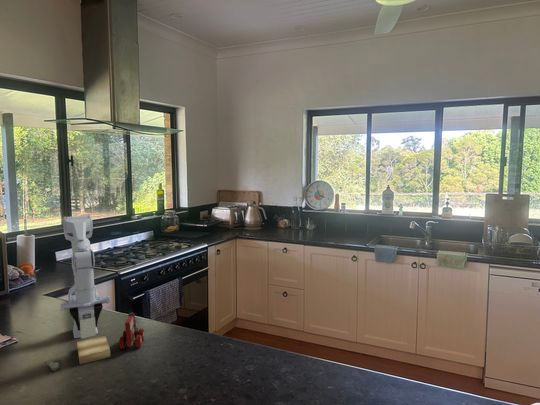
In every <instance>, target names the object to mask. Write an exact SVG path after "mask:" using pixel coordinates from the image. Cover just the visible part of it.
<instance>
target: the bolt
mask: <svg viewBox="0 0 540 405" xmlns="http://www.w3.org/2000/svg"><path fill="white" fill-rule="evenodd" d="M46 365H47V367H48V368H50V371H52V372H56V371H57V372H58V370H60V368H61V365H60V363H59V362H54V361H52V360H48V362H47V363H46Z"/></svg>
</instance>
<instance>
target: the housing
mask: <svg viewBox="0 0 540 405" xmlns="http://www.w3.org/2000/svg"><path fill="white" fill-rule="evenodd" d="M79 324H80V335H81V337H80V339H85V338H89V337H94V336H97V334H96V325H95V316H94V312H93V310H88V311H83V312H79Z"/></svg>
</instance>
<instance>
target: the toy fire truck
mask: <svg viewBox="0 0 540 405" xmlns="http://www.w3.org/2000/svg"><path fill="white" fill-rule="evenodd" d="M124 329H125V330H123V331H122V336H120V337H119V343H118V344H119V345H118V347H119V349H120V350H124V349H125V348H126V346H127V347H128V348H129V347H133V345H134V344H135V347H136V348H138V349H139V348H141V347H142V342H143V341H144V340H145V329H144V328H138V324H137V320H136V316H135V313H134V312H129V313H128V315H127V319H126V320H125V323H124Z"/></svg>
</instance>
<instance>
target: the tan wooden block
mask: <svg viewBox="0 0 540 405" xmlns="http://www.w3.org/2000/svg"><path fill="white" fill-rule="evenodd" d="M76 347H77V348H76V349H77V354H78V355H77V356H78V360H79V365H83V364H87V363H91V362H95V361H99V360H103V359H107V358H111V348H110V345H109V342H108V338H107V336H106V335H102V336H98V337H92V338H87V339H85V340H78V341H76Z"/></svg>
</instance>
